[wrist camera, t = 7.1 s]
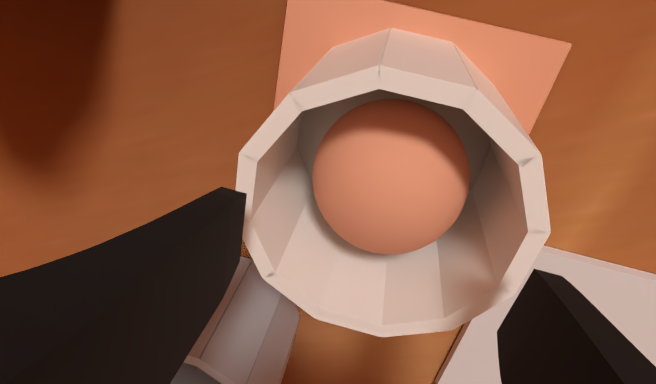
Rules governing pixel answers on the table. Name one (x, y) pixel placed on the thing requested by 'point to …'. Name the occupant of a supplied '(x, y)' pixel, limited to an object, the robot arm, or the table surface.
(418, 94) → the tube
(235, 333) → the grey faceted cup
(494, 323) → the ball mat
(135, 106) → the table surface
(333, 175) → the terracotta ball
